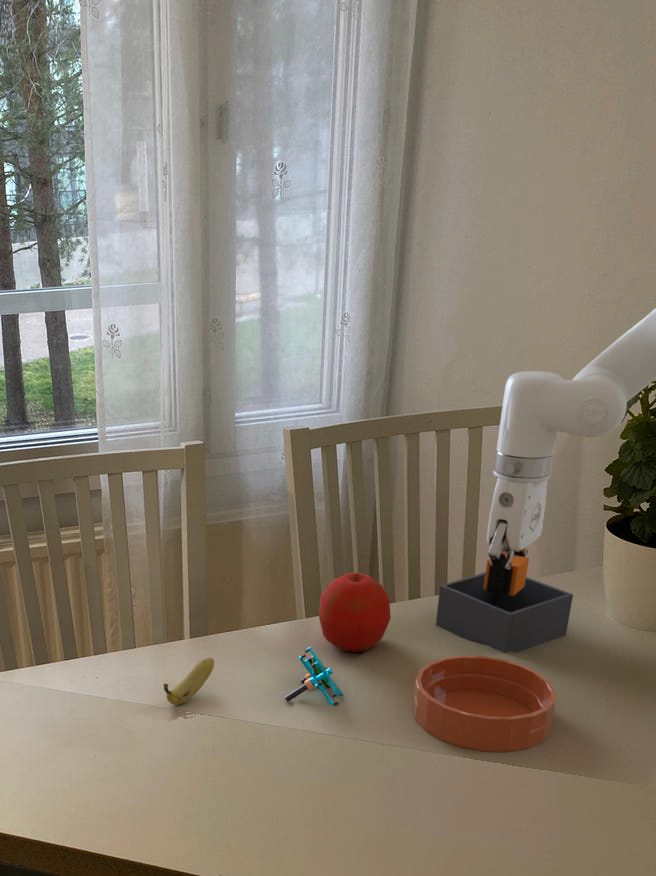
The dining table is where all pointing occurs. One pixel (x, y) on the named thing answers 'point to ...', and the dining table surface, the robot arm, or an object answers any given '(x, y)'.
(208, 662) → the banana
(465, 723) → the bowl
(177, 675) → the dining table surface
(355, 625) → the apple
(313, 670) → the teal plastic assembly
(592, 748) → the dining table surface
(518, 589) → the block
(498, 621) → the bin
